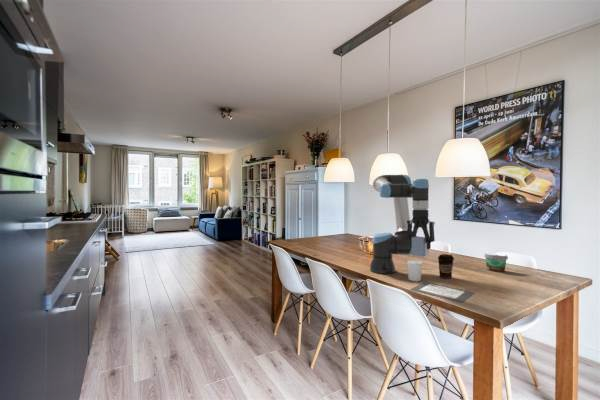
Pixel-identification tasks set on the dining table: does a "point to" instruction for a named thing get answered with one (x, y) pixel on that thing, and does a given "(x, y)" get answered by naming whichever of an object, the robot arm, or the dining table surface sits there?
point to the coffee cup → (445, 265)
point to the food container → (495, 262)
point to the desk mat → (458, 299)
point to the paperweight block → (418, 246)
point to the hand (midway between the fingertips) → (420, 254)
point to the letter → (442, 291)
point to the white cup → (414, 270)
